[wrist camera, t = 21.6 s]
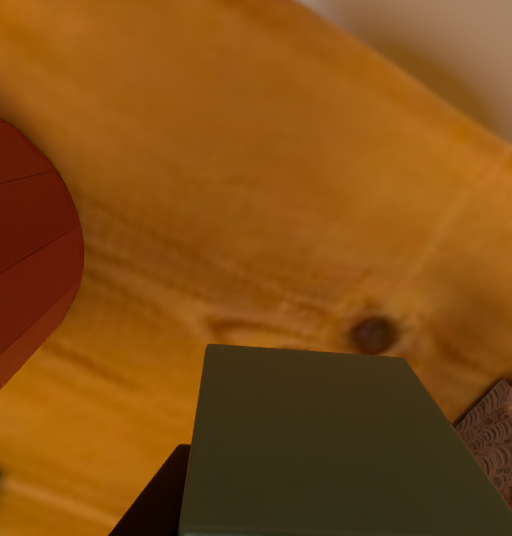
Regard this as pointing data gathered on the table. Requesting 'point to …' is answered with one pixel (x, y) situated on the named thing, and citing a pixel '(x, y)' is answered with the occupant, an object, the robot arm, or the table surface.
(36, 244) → the bowl
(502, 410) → the geological specimen
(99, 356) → the table surface
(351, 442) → the block
